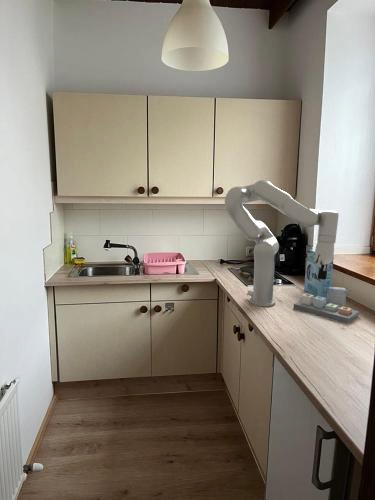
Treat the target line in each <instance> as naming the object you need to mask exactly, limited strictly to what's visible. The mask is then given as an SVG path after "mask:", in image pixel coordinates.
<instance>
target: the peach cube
mask: <svg viewBox="0 0 375 500" xmlns="http://www.w3.org/2000/svg"><path fill="white" fill-rule="evenodd" d="M352 310H353V309H352V308H351V307H346V306H345V307H343V306H342V307H341V308H339V313H341V314H345V315H350V314H351V313H352Z"/></svg>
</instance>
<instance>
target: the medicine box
mask: <svg viewBox="0 0 375 500" xmlns="http://www.w3.org/2000/svg"><path fill="white" fill-rule="evenodd" d="M346 298H347V289H346V288H345V287H339V286H338V287H337V286H331V287H328V291H327V301H326V303H327V304H329V303H331V304H335V305H339V307H342V306H343V307H346Z"/></svg>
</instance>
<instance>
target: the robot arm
mask: <svg viewBox="0 0 375 500" xmlns="http://www.w3.org/2000/svg"><path fill="white" fill-rule="evenodd" d="M257 201H262V202H264V203H265V204H267V205H269V206H271V207H272V208H274V209H276V210H277V211H279V212H280V213H281V214H283V215H285V216H286V217H287V218H289V219H291V220H292V221H294V222H296V223H298V224H299V225H302V227H306V228H311V227H314V226H318V230H317V243H316V246H315V249H314V250H315V255H314V263H317V267H318V270H319V272H318V278H319V279H323V280H325V279H326V277H327V271H326V270H328V265H330V263H331V262H332V261H333V262H334V259H333V257H334V256H335V243H336V241H337V240H336V239H337V230H338V225H339V224H338V223H339V214H340V213H339V212H338V211H336V210H320V209H314V208H308V207H306V206H304V205H303V204H301V203H299V202H298V201H296V200H295V199H294V198H293V197H292V196H291V195H290V194H289V193H287V192H286V191H284V190H281V188H278V187H276V186H275V185H273V184H272V183H271V181H268V180H264V179H263V180H261V179H260V180H258V181H256V182H255V183H253V184H249V185H244V186H233V187H231V188H230V189H229V190H228V191H227V192H226V195H225V199H224V208H225V210H226V212H227V214H228V216H229V217H230V218H231V220H232V222H234V224H235V226H236V227H237V228H238V229H239V231H240V232H241V234H242V235H243V236H244V238H245V239H246V240H248V241H254V243H255V245H254V248H253V260H254V261H253V265H254V266H253V267H254V268H253V287H252V288H253V289H252V290H247V293H246V296H249V297H250V298H249V304H251V305H253V306H257V307H272V306H274V305H276V304H277V301H276V300H275V298H273V296H274V281H275V279H274V277H275V255H276V254H277V253H278V251H279V249H280V244H279V242H278V240H277V238H276V237H275V236H274V234H273V233H272V232H271V231H270V228H268V226H267V225H266V224H265V223H264V222H263V221H262V220H258V219H255V218H254V217H253V216H252V215H251V213H250V212H249V211H248V209H247V208H245V207H244V205H245V204H248V203H252V202H257Z"/></svg>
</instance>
